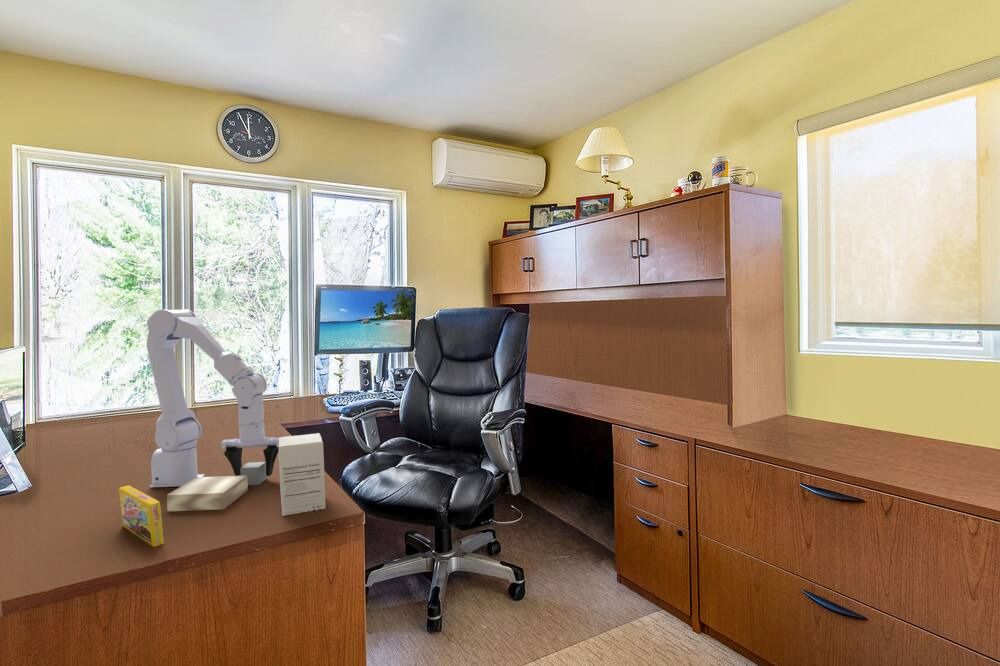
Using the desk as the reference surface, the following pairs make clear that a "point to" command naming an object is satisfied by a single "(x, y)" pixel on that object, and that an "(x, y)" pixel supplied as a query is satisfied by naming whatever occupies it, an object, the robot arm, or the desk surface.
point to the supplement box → (301, 473)
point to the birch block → (207, 493)
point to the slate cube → (254, 472)
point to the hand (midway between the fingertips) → (254, 475)
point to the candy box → (141, 515)
